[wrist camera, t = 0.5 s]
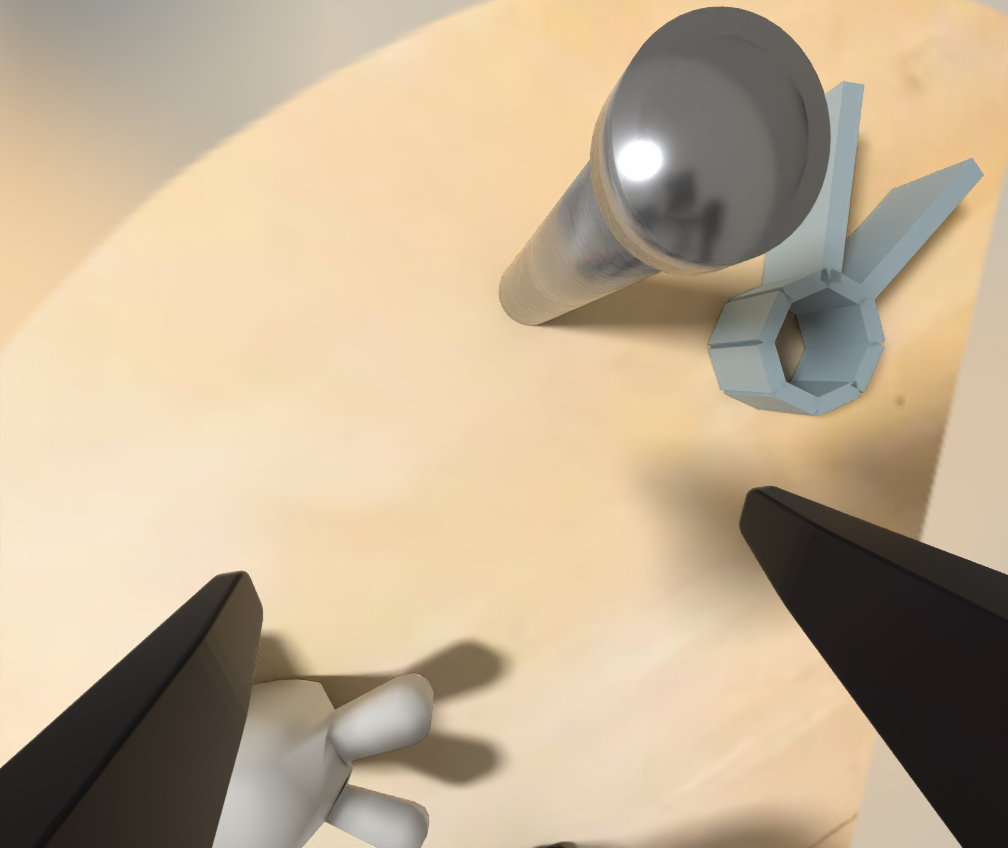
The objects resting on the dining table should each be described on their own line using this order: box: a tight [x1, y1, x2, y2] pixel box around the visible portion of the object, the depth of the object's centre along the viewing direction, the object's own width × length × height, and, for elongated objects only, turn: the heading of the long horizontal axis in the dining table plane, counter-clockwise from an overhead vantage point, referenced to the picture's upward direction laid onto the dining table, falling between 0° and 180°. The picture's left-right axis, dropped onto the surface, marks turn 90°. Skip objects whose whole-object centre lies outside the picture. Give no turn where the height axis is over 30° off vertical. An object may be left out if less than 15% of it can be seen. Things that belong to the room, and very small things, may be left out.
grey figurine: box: [212, 673, 434, 848], centre depth 19 cm, size 10×5×15 cm
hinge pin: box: [499, 7, 831, 325], centre depth 14 cm, size 4×4×14 cm
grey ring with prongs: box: [708, 81, 984, 416], centre depth 21 cm, size 13×8×4 cm, turn 158°
